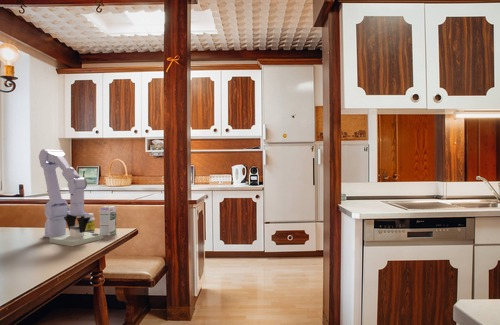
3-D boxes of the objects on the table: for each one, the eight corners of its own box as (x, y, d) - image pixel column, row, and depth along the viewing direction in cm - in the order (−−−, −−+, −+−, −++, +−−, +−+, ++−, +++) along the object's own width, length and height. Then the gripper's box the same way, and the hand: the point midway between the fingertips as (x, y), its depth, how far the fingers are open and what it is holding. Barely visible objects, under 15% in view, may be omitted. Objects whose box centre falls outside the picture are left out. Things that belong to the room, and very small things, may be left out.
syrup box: (109, 235, 160) (109, 207, 160) (99, 235, 162) (99, 206, 162) (116, 233, 166) (116, 205, 166) (106, 232, 167) (106, 205, 167)
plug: (69, 241, 149) (69, 226, 149) (78, 239, 153) (78, 224, 153) (75, 242, 147) (75, 227, 147) (84, 240, 151) (84, 225, 151)
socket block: (49, 242, 146) (49, 236, 146) (80, 235, 161) (81, 230, 161) (72, 246, 139) (72, 240, 139) (102, 238, 154) (103, 233, 154)
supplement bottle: (87, 233, 165) (87, 214, 165) (81, 232, 168) (81, 213, 168) (96, 231, 169) (97, 213, 169) (91, 230, 172) (91, 212, 172)
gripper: (59, 202, 150) (58, 231, 150) (79, 205, 143) (79, 234, 143) (73, 201, 156) (72, 228, 156) (93, 203, 150) (93, 231, 150)
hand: (76, 231), depth 150 cm, fingers open, 7 cm apart
